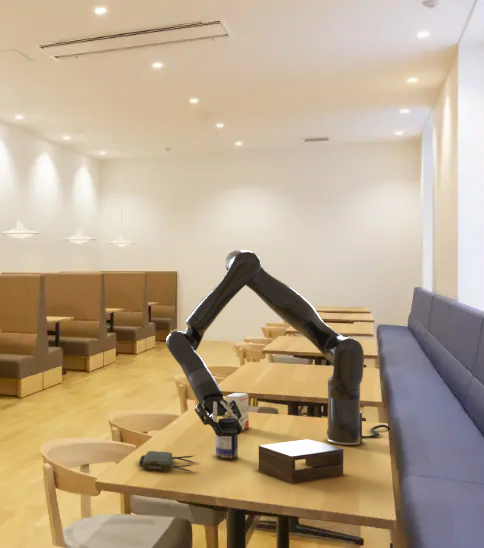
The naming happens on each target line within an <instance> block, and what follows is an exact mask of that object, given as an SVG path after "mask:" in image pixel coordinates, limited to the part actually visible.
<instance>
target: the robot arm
mask: <svg viewBox="0 0 484 548" xmlns="http://www.w3.org/2000/svg"><path fill="white" fill-rule="evenodd" d="M224 265H225V269H226V273H225V275H224V276H223V278H222V279H221V281H220V282H219V283H218V284H217V285H215V287H214V288H213V289H212V290H211V291H210V292H209V293H208V294H207V295H205V296H204V297H203V298H202V299H200V301H199V302H198V303H197V304H196V306H195V307H194V308H193V310H192V311H191V312H190V314H189V315H188V316H187V317H186V319H185V323H186V326H187V327H186V329H185V331H184V332H183V331H181V330H172V331H171V332H170V333H168V335H167V336H166V340H165V343H166V347H167V350H168V351H169V353H170V354H171V356H172V357H173V358H174V360H175V361H176V363H177V364H178V365H179V366H180V368H181V370H182V372H183V374H184V376H185V378H186V380H187V383H188V385H189V387H190V389H191V391H192V393H193V394H194V396H195V398H196V400H197V402H198V404H196V405H195V407H194V409H193V410H194V412H195V414H196V415H197V417H198V418H199V419H200V421H201V422H202V423H203V425H204V426H207V425H209V426H210V427H211V428H212V430H213V432H214V434H215V436H216V435H218V437H221V436H222V435H223V434H224V432H223V430H222V428H221V426H220V425H219V423H218V417H222V418H228V419H232V418H233V420H235V426H234V428H236V429H237V431H238V435H241V434H242V432H243V431H244V430H243V429H242V427H241V425H240V423H239V421H238V420H239V419H240V418H241V417H242V415H241V413H240V411H239V408H238V406H237V404H236V402H235V401H234V400H232V401H231V402H227V401H226V398H224V393H223V391H222V389H221V388H220V386H219V384H218V382H217V380H216V378H215V377H214V375H213V374H212V372H211V371H210V370H209V368H208V366H207V365H206V363H205V361H204V359H203V358H202V357H201V356H200V355H199V354H198V353H197V350H198V348H199V347H200V344H201V342H202V340H203V338H204V335H205V334H206V331H207V330H209V328H210V327H211V325H212V324H213V323H214V322H215V320H216V319H217V318H218V316H219V315H220V314H221V312H223V310H224V309H225V308H226V307H227V305H228V304H229V303H230V302H231V301H232V300H233V299H234V297H236V295H237V294H238V293H239V292H240V291H241V290H242V289H243V288H244V287H245V286H246V287H247V288H248V289H250V290H251V291H252V292H254V293H255V294H256V295H257V296H258V297H259V298H260V300H262V301H263V302H264V304H266V305H267V306H268V308H270V309H271V310H272V311H273V312H274V313H275V314H276V315H277V316H278V317H279V318H280V319H282V321H284V322H285V323H286V324H288V325H289V326H290V327H292V328H293V329H294V330H295V331H297V332H298V333H299V334H300V335H302V336H303V337H305V338H306V339H307V340H308V341H309V342H311V344H312V345H314V346H315V348H316V349H317V350H318V351H319V352H320V353H321V354H322V355H323V357H325V358H326V360H328V361H329V362H330V363H332V364H333V371H332V375H330V376H329V377H328V378H327V430H326V435H327V436H326V437H327V438H326V441H327V442H328V443H331V444H335V445H341V446H358V445H361V444H362V443H363V439H372V438H376V437H379V436H380V432H379V431H377V429H379V428H385V429H387V430H389V431H390V430H391V427H390V426H389V425H386V424H377V425H375V426H373V427H370V432H371V433H373V434H371V435H363V413H362V412H361V384H362V381H363V378H364V365H365V362H364V361H365V355H364V354H365V353H364V348H363V346H362V344H361V342H360V341H359V340H357V339H356V338H353V337H349V336H344V335H341V334H340V333H338V332H336V331H335V330H334V329H333V328H331V327H330V326H329V325H327V324H326V323H325V322H324V321H323V320H322V318H321V316H320V315H319V313H318V312H317V310H315V309H316V308H314V306H313V305H312V304H311V303H310V302H309V301H307V299H305V297H303V296H302V295H301V294H300V293H299V292H297V291H296V290H294V289H293V288H292V287H290V286H289V285H287V284H286V283H284V282H282V281H281V280H279V279H277V278H275V276H272V275H271V274H270V273H269V272H267V271H266V270H265V269H264V268H263V266H262V263H261V258H260V257H259V256H258V255H257V254H256V253H254V252H253V251H250V250H245V249H236V250H233V251H230V252H229V253H228V254H227V256H226V258H225V261H224ZM226 412H228V414H227V415H226ZM236 414H237V415H236ZM230 416H231V417H232V418H231V417H230ZM389 548H394V544H393V542H389Z"/></svg>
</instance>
